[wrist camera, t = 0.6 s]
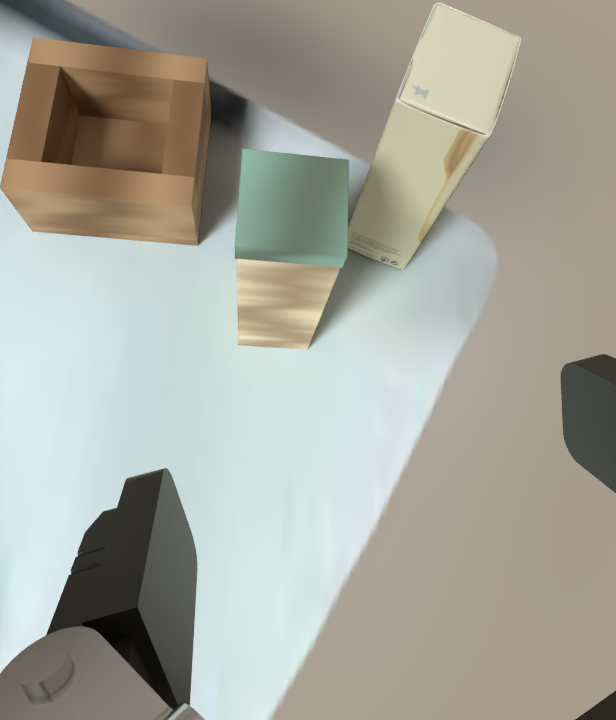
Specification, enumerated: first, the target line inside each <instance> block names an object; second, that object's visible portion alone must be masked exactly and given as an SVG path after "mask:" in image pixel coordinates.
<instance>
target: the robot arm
mask: <svg viewBox="0 0 616 720" xmlns="http://www.w3.org/2000/svg"><path fill="white" fill-rule="evenodd" d="M561 394H562V415H563V435H564V440H565V443H566V446H567V448H568V450H569V452H570V454H571V455H572V457H573V458H574V459H575V461H576V462H577V463H579V464H580V465H581V466H582V467H583V468H585V469H586V470H587V471H588V472H590V473H591V474H592V475H594V476H595V477H596V478H597V479H599V480H600V481H601V482H602V483H604V484H605V485H606V486H607V487H609V488H610V489H611V490H613V491H614V492H615V493H616V359H615V358H613V357H611V356H608V355H604V354H602V355H598V356H594V357H590V358H586V359H583V360H579V361H575V362H571V363H567V364H566V365H565V366H564V367H563V369H562V371H561ZM196 583H197V556H196V549H195V544H194V540H193V536H192V533H191V530H190V527H189V524H188V521H187V518H186V515H185V513H184V510H183V507H182V504H181V501H180V498H179V495H178V492H177V489H176V486H175V484H174V481H173V478H172V476H171V474H170V472H169V470H168V469H167V468H164V469H161V470H157V471H153V472H149V473H145V474H142V475H138V476H134V477H130V478H127V479H126V481H125V484H124V487H123V490H122V494H121V497H120V500H119V503H118V507H117V508H115V509H111V510H107V511H104V512H102V514H101V515H100V516H99V517H98V518H97V519H96V520H95V522H94V523H93V524H92V525H91V526H90V527H89V528H88V530H87V531H86V532H85V534H84V537H83V539H82V542H81V545H80V547H79V550H78V557H76V558H75V561H74V563H73V566H72V569H71V575H69V576H68V579H67V582H66V584H65V587H64V590H63V592H62V595H61V598H60V600H59V603H58V605H57V608H56V611H55V613H54V616H53V619H52V621H51V624H50V627H49V629H48V632H47V635H46V636H45V637H43V638H41V639H39V640H37V641H36V642H34V643H33V644H31V645H30V646H28V647H27V648H26V649H24V650H23V651H22V652H21V653H19V654H18V655H17V656H16V657H15V658H14V659H13V660H12V661H11V662H10V663H9V664H8V665H7V666H6V667H5V668H4V670H3V671H2V672H1V674H0V720H204V719H203V718H202V717H201V716H200V715H199V714H198V713H197V712H196V711H195V710H194V709H193V708H192V707H190V691H191V673H192V655H193V637H194V619H195V601H196ZM576 720H616V691H615V692H613V693H612V694H611V695H609V696H608V697H606V698H605V699H604V700H602V701H601V702H599V703H598V704H597V705H595V706H594V707H593V708H591V709H590V710H588V711H587V712H586V713H584V714H583V715H581V716H580V717H579V718H577V719H576Z"/></svg>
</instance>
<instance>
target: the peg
mask: <svg viewBox="0 0 616 720" xmlns="http://www.w3.org/2000/svg"><path fill="white" fill-rule="evenodd" d="M348 177H349V160H345V159H335V158H326V157H316V156H307V155H297V154H288V153H279V152H269V151H260V150H250V149H242V161H241V174H240V187H239V199H238V212H237V224H236V237H235V259H237V306H238V345H246V346H261V347H276V348H290V349H305V350H307V349H308V347H309V344H310V342H311V339H312V337H313V334H314V332H315V330H316V327H317V325H318V322H319V320H320V317H321V315H322V312H323V310H324V307H325V305H326V302H327V300H328V298H329V295H330V293H331V290H332V288H333V285H334V283H335V280H336V278H337V275H338V273H339V270H340V268H342V267H343V265H344V263H345V260H346V258H347V242H348Z"/></svg>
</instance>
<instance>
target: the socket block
mask: <svg viewBox="0 0 616 720" xmlns="http://www.w3.org/2000/svg"><path fill="white" fill-rule="evenodd" d="M210 122H211V102H210V89H209V76H208V63H207V59H205V58H197V57H188V56H180V55H172V54H164V53H156V52H148V51H140V50H132V49H123V48H115V47H107V46H99V45H91V44H82V43H74V42H66V41H58V40H50V39H42V38H33V40H32V44H31V49H30V53H29V58H28V62H27V67H26V71H25V76H24V80H23V85H22V89H21V94H20V99H19V103H18V108H17V112H16V117H15V121H14V126H13V130H12V135H11V139H10V144H9V148H8V153H7V157H6V162H5V167H4V171H3V176H2V180H1V185H0V188H1V190H2V191H3V192H4V194H5V195H6V196H7V198H8V199H9V200H10V202H11V203H12V204H13V206H14V207H15V209H16V210H17V211H18V213H19V214H20V215H21V217H22V218H23V219H24V221H25V222H26V223H27V225H28V226H29V227H30V229H31V230H32V231H36V232H47V233H59V234H70V235H82V236H94V237H105V238H117V239H128V240H140V241H152V242H163V243H175V244H186V245H198V241H199V231H200V222H201V212H202V202H203V192H204V182H205V172H206V162H207V152H208V142H209V132H210Z"/></svg>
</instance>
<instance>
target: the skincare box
mask: <svg viewBox="0 0 616 720" xmlns="http://www.w3.org/2000/svg"><path fill="white" fill-rule="evenodd" d="M520 43H521V37H519V36H517V35H515V34H512V33H510V32H507V31H505V30H503V29H500V28H499V27H496V26H494V25H492V24H489V23H487V22H485V21H482V20H480V19H478V18H475V17H473V16H471V15H469V14H466V13H464V12H461V11H459V10H456V9H454V8H452V7H450V6H447V5H445V4H443V3H436V4H434V6H433V8H432V11H431V13H430V15H429V18H428V20H427V22H426V25H425V27H424V30H423V32H422V34H421V37H420V39H419V42H418V44H417V46H416V49H415V52H414V54H413V56H412V59H411V62H410V64H409V67H408V69H407V71H406V74H405V76H404V79H403V82H402V84H401V87H400V89H399V92H398V94H397V97H396V99H395V102H394V104H393V107H392V110H391V112H390V115H389V118H388V120H387V123H386V126H385V128H384V131H383V134H382V136H381V139H380V142H379V144H378V147H377V150H376V153H375V155H374V158H373V161H372V164H371V166H370V169H369V172H368V175H367V177H366V180H365V183H364V186H363V188H362V191H361V194H360V197H359V199H358V202H357V205H356V207H355V210H354V213H353V215H352V218H351V221H350V223H349V226H348V242H347V248H348V249H351V250H353V251H355V252H357V253H360V254H362V255H364V256H367V257H369V258H372V259H374V260H376V261H379V262H381V263H384V264H387V265H389V266H392V267H395V268H398V269H400V270H403V269H405V267H406V266H407V264H408V263H409V261H410V259H411V258H412V256H413V255H414V253H415V252H416V250H417V248H418V247H419V245H420V244H421V242H422V240H423V239H424V237H425V236H426V234H427V233H428V231H429V230H430V228H431V227H432V225H433V224H434V222H435V220H436V219H437V217H438V216H439V214H440V213H441V211H442V210H443V208H444V206H445V205H446V203H447V202H448V200H449V198H450V197H451V195H452V194H453V192H454V191H455V189H456V187H457V186H458V184H459V183H460V181H461V180H462V178H463V177H464V175H465V174H466V172H467V171H468V169H469V168H470V166H471V165H472V163H473V161H474V160H475V158H476V156H477V155H478V154H479V152H480V151H481V149H482V148H483V146H484V145H485V143H486V142H487V140H488V139H489V137H490V136H491V134H492V131H493V129H494V127H495V124H496V122H497V119H498V117H499V114H500V111H501V108H502V105H503V102H504V99H505V96H506V93H507V90H508V86H509V83H510V80H511V77H512V73H513V70H514V66H515V63H516V59H517V55H518V51H519V47H520Z"/></svg>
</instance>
